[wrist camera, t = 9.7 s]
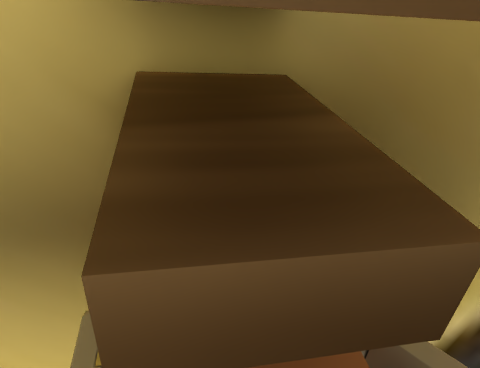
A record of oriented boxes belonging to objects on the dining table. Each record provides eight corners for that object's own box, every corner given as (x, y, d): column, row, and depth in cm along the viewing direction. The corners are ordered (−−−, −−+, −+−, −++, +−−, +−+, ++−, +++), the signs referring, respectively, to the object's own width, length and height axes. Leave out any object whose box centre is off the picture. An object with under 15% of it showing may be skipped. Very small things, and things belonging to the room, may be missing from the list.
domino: (136, 71, 11) (80, 276, 4) (286, 75, 12) (493, 241, 5) (141, 130, 12) (106, 388, 5) (279, 129, 13) (439, 339, 6)
